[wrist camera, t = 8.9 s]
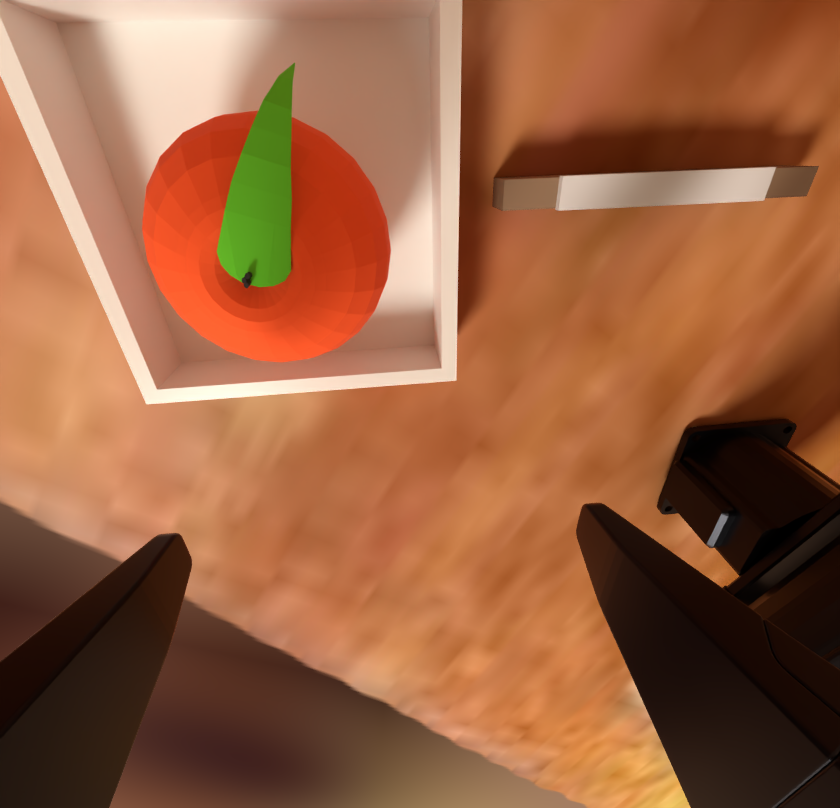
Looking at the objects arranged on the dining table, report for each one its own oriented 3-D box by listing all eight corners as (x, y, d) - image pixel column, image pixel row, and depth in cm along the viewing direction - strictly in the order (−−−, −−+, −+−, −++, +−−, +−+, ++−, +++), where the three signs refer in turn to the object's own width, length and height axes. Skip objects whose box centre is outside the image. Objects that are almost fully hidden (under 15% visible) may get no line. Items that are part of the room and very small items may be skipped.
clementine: (200, 45, 13) (42, -57, 7) (416, 125, 14) (450, 102, 8) (194, 296, 16) (90, 378, 10) (365, 336, 18) (362, 428, 12)
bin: (444, -3, 13) (463, -42, 10) (445, 350, 19) (456, 380, 17) (37, 1, 12) (-51, -40, 10) (177, 369, 19) (146, 404, 16)
